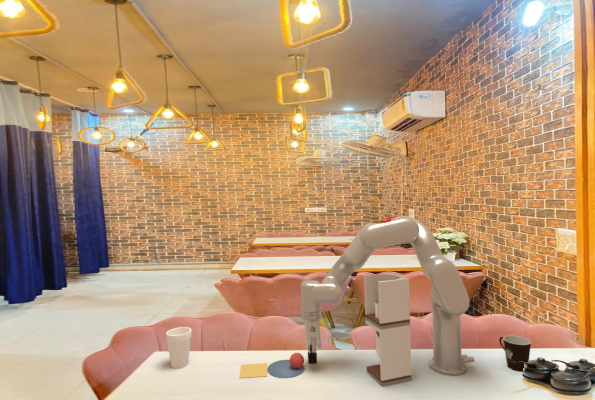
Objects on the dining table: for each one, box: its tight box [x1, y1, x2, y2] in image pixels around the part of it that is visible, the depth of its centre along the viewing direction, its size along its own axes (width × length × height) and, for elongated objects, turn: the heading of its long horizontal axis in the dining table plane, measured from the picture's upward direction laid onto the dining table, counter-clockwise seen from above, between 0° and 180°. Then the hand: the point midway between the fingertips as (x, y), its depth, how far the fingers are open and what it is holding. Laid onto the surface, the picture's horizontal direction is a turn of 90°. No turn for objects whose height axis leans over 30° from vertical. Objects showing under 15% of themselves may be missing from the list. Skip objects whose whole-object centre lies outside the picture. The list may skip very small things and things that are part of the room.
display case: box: [363, 272, 412, 388], centre depth 127 cm, size 11×11×35 cm
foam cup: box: [165, 326, 193, 369], centre depth 141 cm, size 10×9×13 cm
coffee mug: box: [498, 335, 532, 373], centre depth 133 cm, size 12×9×10 cm
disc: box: [267, 359, 306, 379], centre depth 135 cm, size 14×14×1 cm
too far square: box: [238, 362, 268, 379], centre depth 134 cm, size 10×10×1 cm
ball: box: [289, 352, 305, 369], centre depth 136 cm, size 6×6×6 cm
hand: (312, 362), depth 136 cm, fingers closed
